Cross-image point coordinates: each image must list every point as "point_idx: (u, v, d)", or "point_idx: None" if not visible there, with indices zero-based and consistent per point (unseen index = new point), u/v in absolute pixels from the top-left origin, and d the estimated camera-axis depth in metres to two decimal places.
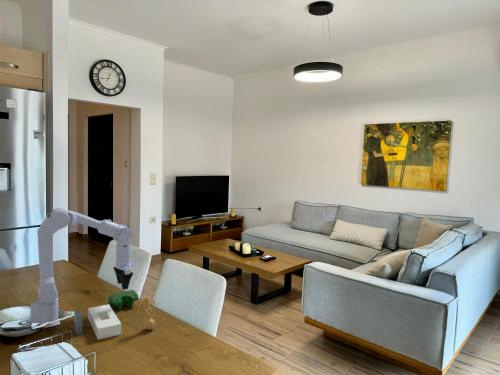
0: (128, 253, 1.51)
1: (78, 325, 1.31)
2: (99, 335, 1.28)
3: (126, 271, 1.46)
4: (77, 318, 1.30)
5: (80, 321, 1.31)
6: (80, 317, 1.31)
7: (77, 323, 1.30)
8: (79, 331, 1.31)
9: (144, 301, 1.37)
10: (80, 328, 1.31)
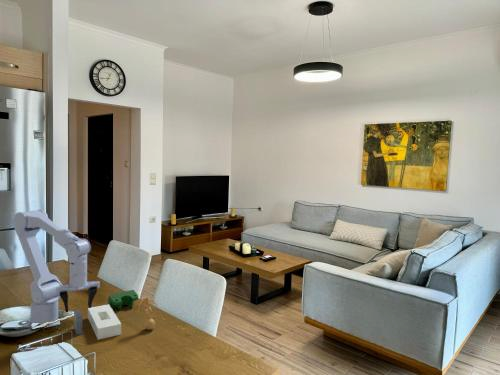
0: (76, 272, 1.29)
1: (78, 325, 1.31)
2: (99, 335, 1.28)
3: (55, 289, 1.29)
4: (77, 318, 1.30)
5: (80, 321, 1.31)
6: (80, 317, 1.31)
7: (77, 323, 1.30)
8: (79, 331, 1.31)
9: (144, 301, 1.37)
10: (80, 328, 1.31)
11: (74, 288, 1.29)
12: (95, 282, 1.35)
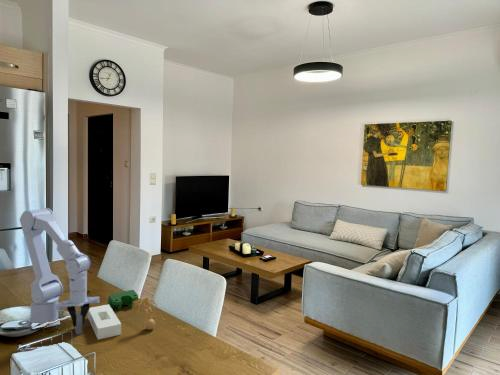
0: (76, 289, 1.30)
1: (78, 325, 1.31)
2: (99, 335, 1.28)
3: (55, 305, 1.29)
4: (77, 318, 1.30)
5: (80, 321, 1.31)
6: (80, 317, 1.31)
7: (77, 323, 1.30)
8: (79, 331, 1.31)
9: (144, 301, 1.37)
10: (80, 328, 1.31)
11: (74, 304, 1.30)
12: (95, 298, 1.36)
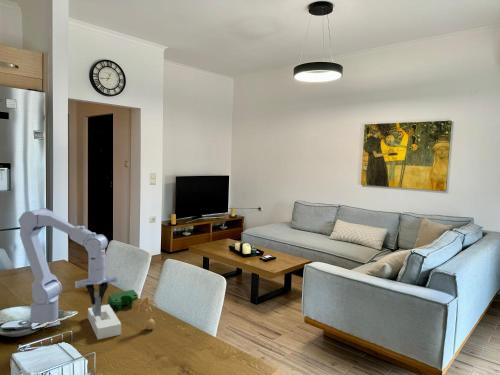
0: (97, 267, 1.33)
1: (97, 307, 1.34)
2: (99, 335, 1.28)
3: (75, 283, 1.32)
4: (96, 300, 1.33)
5: (99, 303, 1.34)
6: (99, 299, 1.34)
7: (96, 305, 1.33)
8: (97, 313, 1.34)
9: (144, 301, 1.37)
10: (98, 309, 1.34)
11: (93, 282, 1.33)
12: (113, 277, 1.39)
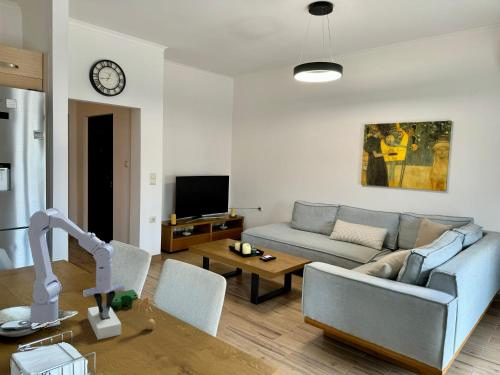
0: (105, 276, 1.35)
1: (104, 317, 1.36)
2: (99, 335, 1.28)
3: (83, 292, 1.34)
4: (103, 310, 1.35)
5: (106, 313, 1.36)
6: (106, 309, 1.36)
7: (103, 315, 1.35)
8: None
9: (144, 301, 1.37)
10: None
11: (101, 291, 1.34)
12: (120, 285, 1.41)
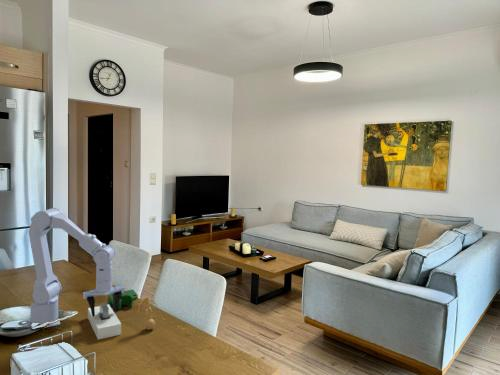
0: (105, 278, 1.35)
1: (104, 317, 1.36)
2: (99, 335, 1.28)
3: (83, 294, 1.34)
4: (103, 310, 1.35)
5: (106, 313, 1.36)
6: (106, 309, 1.36)
7: (103, 315, 1.35)
8: None
9: (144, 301, 1.37)
10: None
11: (101, 293, 1.35)
12: (120, 287, 1.41)
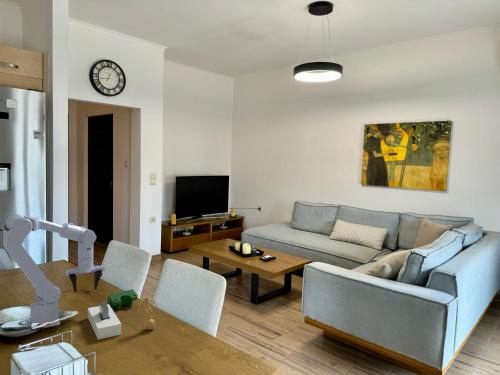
0: (92, 256, 1.47)
1: (104, 317, 1.36)
2: (99, 335, 1.28)
3: None
4: (103, 310, 1.35)
5: (106, 313, 1.36)
6: (106, 309, 1.36)
7: (103, 315, 1.35)
8: None
9: (144, 301, 1.37)
10: None
11: (82, 271, 1.45)
12: (100, 266, 1.51)
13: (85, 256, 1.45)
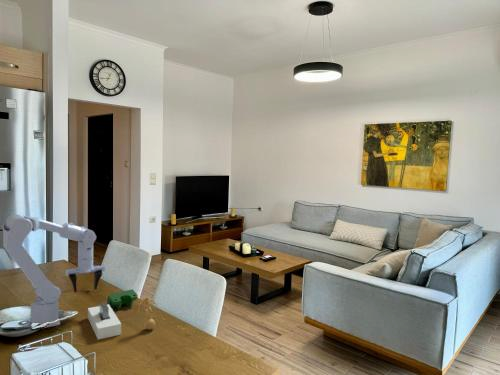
0: (92, 256, 1.47)
1: (104, 317, 1.36)
2: (99, 335, 1.28)
3: None
4: (103, 310, 1.35)
5: (106, 313, 1.36)
6: (106, 309, 1.36)
7: (103, 315, 1.35)
8: None
9: (144, 301, 1.37)
10: None
11: (82, 271, 1.45)
12: (100, 266, 1.51)
13: (85, 256, 1.45)
